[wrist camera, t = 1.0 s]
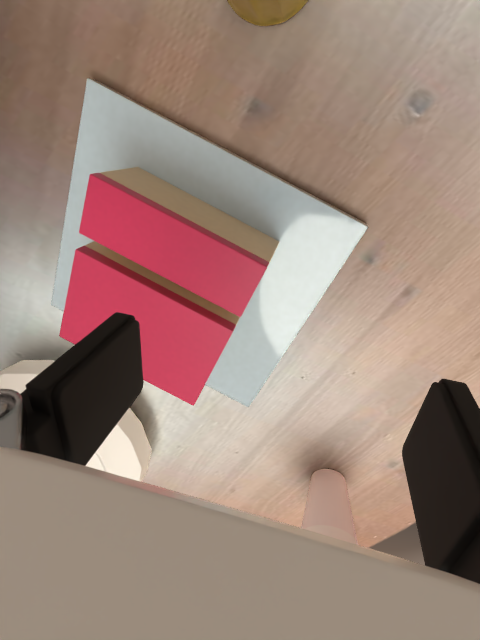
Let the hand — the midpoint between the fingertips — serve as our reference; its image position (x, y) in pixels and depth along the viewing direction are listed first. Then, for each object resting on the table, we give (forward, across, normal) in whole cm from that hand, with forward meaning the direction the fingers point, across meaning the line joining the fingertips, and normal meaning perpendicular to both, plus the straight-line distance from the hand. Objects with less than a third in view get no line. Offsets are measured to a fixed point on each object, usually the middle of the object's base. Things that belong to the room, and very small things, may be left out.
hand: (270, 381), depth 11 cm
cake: (+18, +11, +7) cm, 22 cm away
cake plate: (+18, +10, +4) cm, 21 cm away
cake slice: (+17, +8, 0) cm, 19 cm away
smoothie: (+18, -7, +26) cm, 32 cm away
